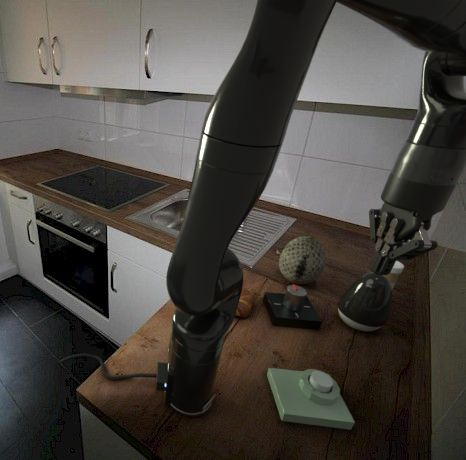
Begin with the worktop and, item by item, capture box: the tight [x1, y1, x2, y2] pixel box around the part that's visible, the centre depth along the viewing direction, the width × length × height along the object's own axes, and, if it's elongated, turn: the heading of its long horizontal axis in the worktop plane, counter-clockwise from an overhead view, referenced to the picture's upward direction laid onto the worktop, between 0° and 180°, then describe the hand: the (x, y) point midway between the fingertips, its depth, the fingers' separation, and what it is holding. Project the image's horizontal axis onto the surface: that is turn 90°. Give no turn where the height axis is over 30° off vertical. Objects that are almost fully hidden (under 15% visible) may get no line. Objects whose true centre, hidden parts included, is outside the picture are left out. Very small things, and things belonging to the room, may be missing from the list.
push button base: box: [266, 367, 356, 431], centre depth 61 cm, size 12×10×4 cm
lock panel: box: [262, 291, 323, 331], centre depth 82 cm, size 11×10×3 cm
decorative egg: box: [278, 235, 327, 285], centre depth 93 cm, size 12×12×15 cm
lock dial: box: [283, 283, 308, 311], centre depth 81 cm, size 4×4×5 cm
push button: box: [309, 370, 333, 393], centre depth 60 cm, size 4×4×2 cm
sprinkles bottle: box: [384, 260, 405, 290], centre depth 84 cm, size 5×5×13 cm
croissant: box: [235, 287, 256, 318], centre depth 86 cm, size 12×11×4 cm
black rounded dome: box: [337, 271, 393, 332], centre depth 77 cm, size 10×10×15 cm
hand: (378, 272), depth 54 cm, fingers closed
